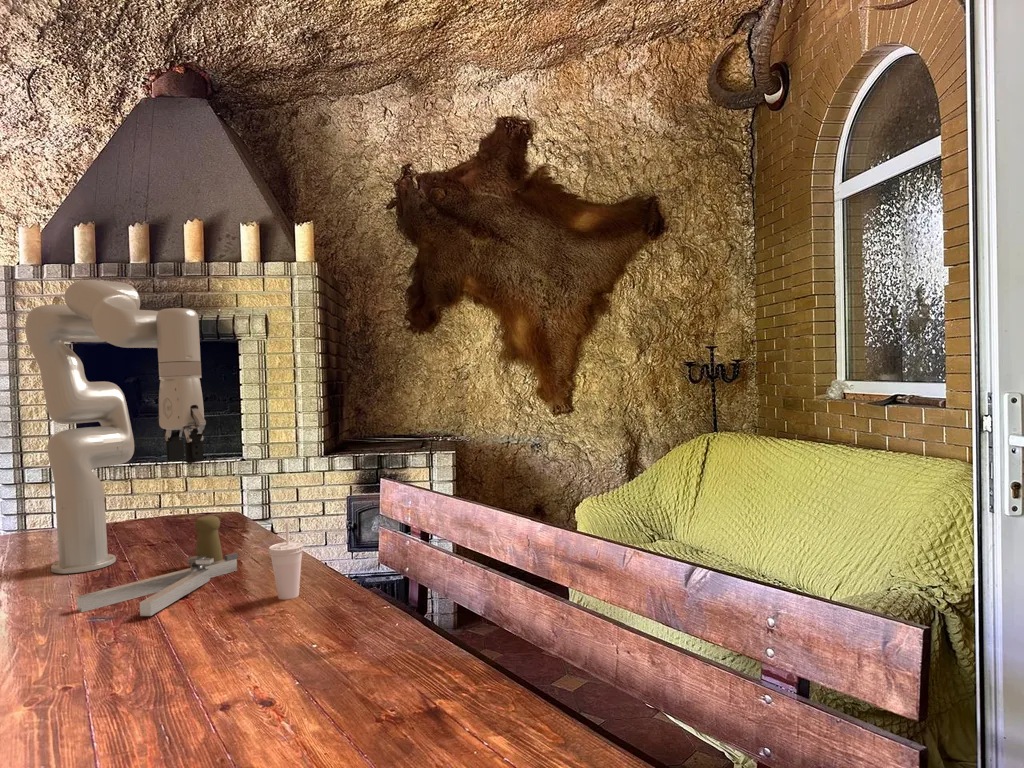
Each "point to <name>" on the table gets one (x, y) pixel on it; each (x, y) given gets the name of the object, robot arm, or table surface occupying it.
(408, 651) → the table surface
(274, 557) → the smoothie
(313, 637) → the table surface
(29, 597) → the table surface
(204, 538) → the olive pepper mill
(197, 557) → the tongs jaw
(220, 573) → the tongs fixed
